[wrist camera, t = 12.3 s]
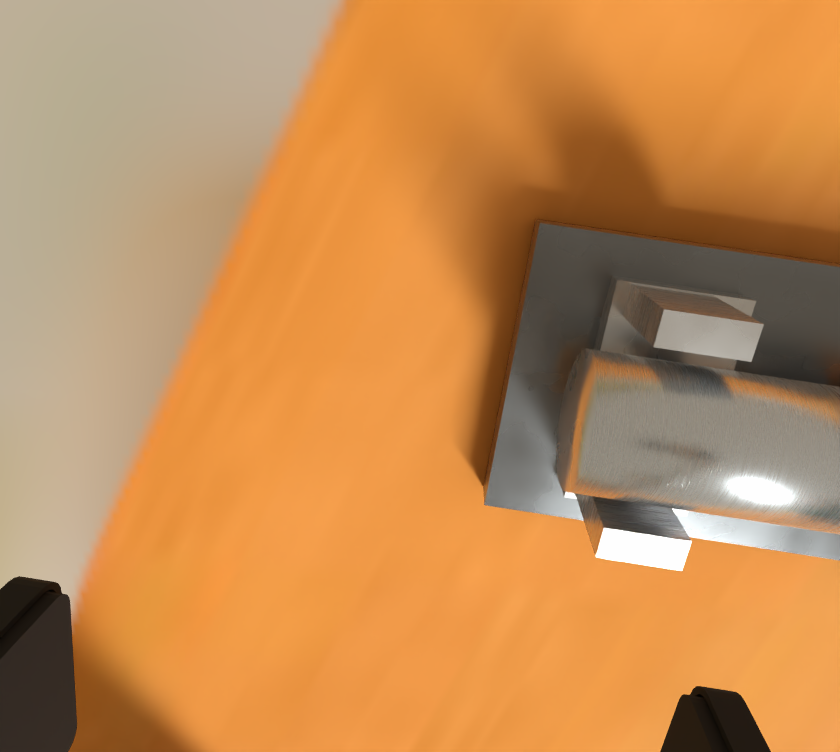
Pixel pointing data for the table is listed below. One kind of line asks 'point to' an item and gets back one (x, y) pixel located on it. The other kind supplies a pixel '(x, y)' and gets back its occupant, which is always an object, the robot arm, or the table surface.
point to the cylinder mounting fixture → (659, 339)
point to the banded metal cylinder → (701, 440)
